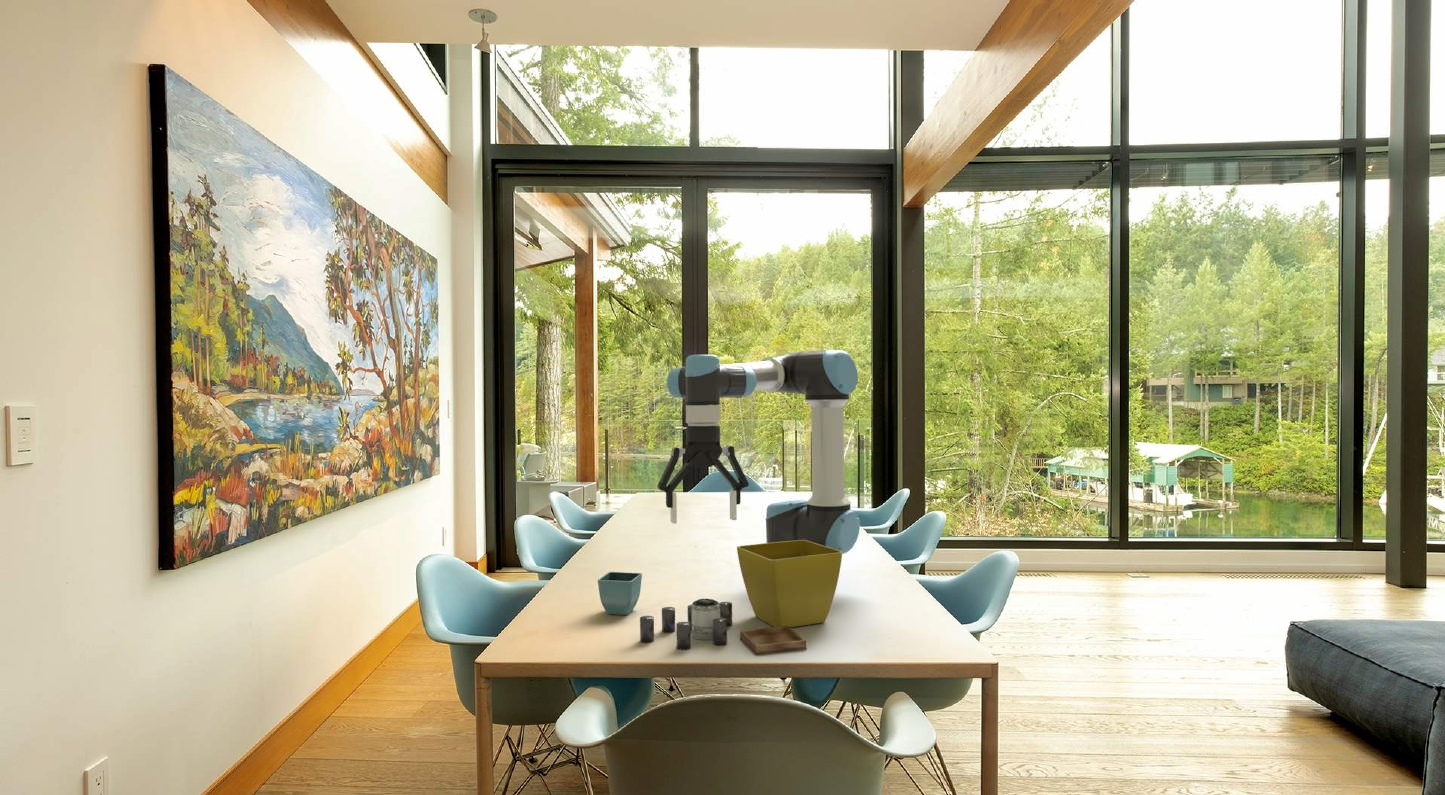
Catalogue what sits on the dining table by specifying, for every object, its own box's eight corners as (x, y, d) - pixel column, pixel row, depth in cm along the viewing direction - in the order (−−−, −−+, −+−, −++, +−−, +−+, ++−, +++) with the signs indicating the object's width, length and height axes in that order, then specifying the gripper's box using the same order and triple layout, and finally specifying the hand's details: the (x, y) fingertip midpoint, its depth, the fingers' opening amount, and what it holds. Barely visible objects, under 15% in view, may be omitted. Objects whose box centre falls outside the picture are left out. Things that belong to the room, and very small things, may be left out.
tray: (787, 634, 175) (787, 626, 175) (806, 649, 164) (806, 640, 164) (740, 639, 172) (740, 630, 172) (756, 655, 161) (756, 646, 161)
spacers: (730, 622, 184) (729, 601, 184) (751, 642, 169) (750, 619, 169) (634, 632, 178) (634, 609, 178) (647, 653, 163) (647, 629, 163)
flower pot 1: (632, 618, 189) (631, 581, 189) (597, 616, 191) (596, 579, 190) (643, 608, 197) (642, 572, 197) (609, 607, 199) (609, 571, 199)
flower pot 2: (736, 614, 191) (735, 545, 191) (804, 605, 199) (803, 538, 199) (771, 636, 174) (770, 560, 174) (845, 625, 181) (844, 552, 181)
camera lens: (711, 642, 170) (710, 605, 170) (686, 638, 173) (685, 602, 173) (725, 634, 175) (724, 599, 175) (701, 630, 178) (700, 595, 178)
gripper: (751, 423, 181) (751, 515, 181) (644, 425, 174) (644, 521, 174) (762, 424, 174) (762, 520, 174) (650, 426, 167) (651, 526, 167)
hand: (703, 521), depth 174 cm, fingers open, 13 cm apart
